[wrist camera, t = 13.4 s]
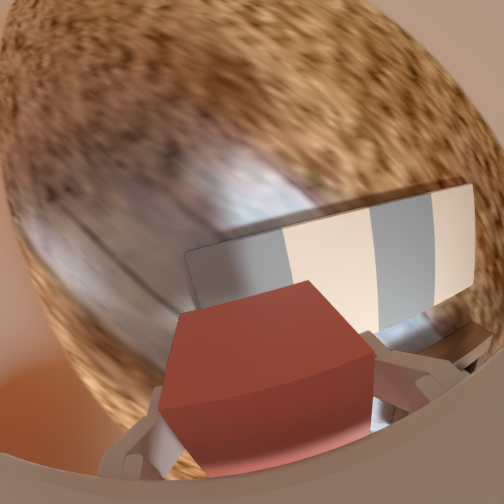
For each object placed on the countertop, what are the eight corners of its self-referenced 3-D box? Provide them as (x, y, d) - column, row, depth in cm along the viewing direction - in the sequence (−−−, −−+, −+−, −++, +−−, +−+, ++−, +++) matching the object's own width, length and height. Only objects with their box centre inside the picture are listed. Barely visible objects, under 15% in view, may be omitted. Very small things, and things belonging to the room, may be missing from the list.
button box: (472, 320, 18) (493, 333, 15) (456, 386, 20) (471, 401, 18) (400, 362, 18) (420, 383, 15) (391, 425, 20) (404, 445, 17)
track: (466, 183, 15) (472, 184, 14) (468, 281, 17) (473, 284, 16) (185, 252, 14) (183, 255, 13) (226, 373, 16) (227, 379, 15)
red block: (308, 279, 10) (374, 351, 5) (322, 375, 11) (366, 455, 7) (179, 313, 10) (157, 409, 5) (218, 403, 11) (224, 494, 6)
